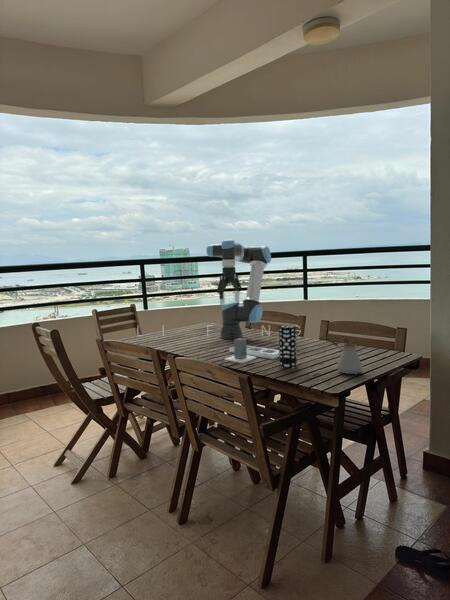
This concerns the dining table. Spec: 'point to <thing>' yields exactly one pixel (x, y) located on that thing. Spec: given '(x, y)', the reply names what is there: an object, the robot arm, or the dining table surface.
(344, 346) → the coffee pot
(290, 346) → the spotted tube
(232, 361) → the pad
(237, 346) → the steel plug
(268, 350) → the white socket board
